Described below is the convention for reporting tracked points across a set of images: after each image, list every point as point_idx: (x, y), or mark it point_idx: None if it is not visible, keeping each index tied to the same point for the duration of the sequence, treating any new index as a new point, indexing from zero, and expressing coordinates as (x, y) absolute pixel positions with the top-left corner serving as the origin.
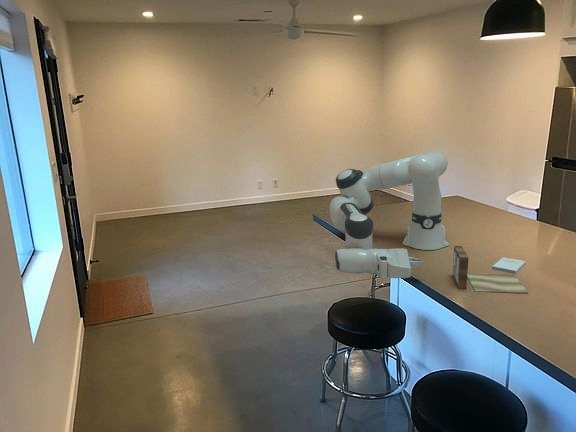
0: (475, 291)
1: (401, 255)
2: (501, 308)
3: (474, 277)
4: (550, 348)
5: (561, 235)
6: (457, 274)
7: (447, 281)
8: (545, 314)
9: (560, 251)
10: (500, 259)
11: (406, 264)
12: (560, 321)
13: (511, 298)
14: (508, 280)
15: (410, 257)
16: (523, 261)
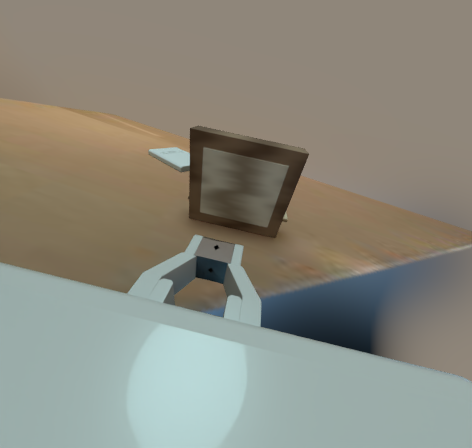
0: (286, 220)
1: (72, 391)
2: (347, 220)
3: None
4: (443, 228)
5: (113, 117)
6: (267, 208)
7: (227, 239)
8: (341, 196)
9: (156, 131)
10: (155, 153)
11: (442, 419)
12: (353, 196)
13: (301, 199)
14: None
15: (144, 286)
16: (177, 148)
